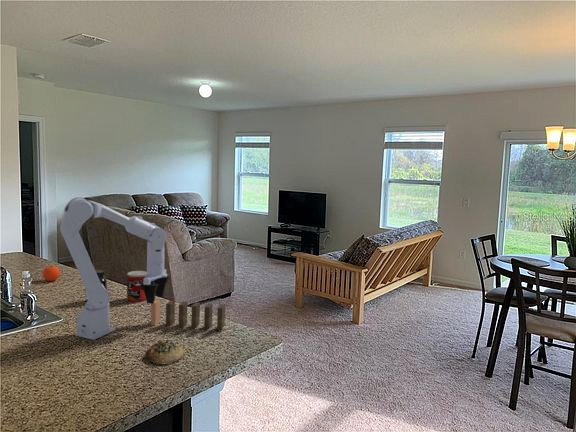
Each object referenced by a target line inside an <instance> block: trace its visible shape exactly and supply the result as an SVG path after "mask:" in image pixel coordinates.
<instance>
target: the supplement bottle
mask: <svg viewBox="0 0 576 432" xmlns="http://www.w3.org/2000/svg"><path fill="white" fill-rule="evenodd" d="M95 271H96V274H97V276H98V278H99V280H100V282H101V284H103V285H104V287H105V289H106V291H108V280H107V277H105V270H103V269H102V270H101V269H95Z"/></svg>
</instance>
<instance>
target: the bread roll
mask: <svg viewBox="0 0 576 432" xmlns="http://www.w3.org/2000/svg"><path fill="white" fill-rule="evenodd" d="M185 353H186V351H185V350H184V348H183V347H182V346H180V345H178V344H177V343H176V342H175V341H174V342H173V341H171V340H166V341H162V340H159V341H158V342H155V343H154V344H152V345H151V346H150V347H149V348H148V349H147V351H146V352H145V358H147V359H148V360H149V361H148V360H147V359H146V360H147V361H148V362H150V363H153V364H155V363H156V364H155V365H159V364H163V363H171V362H174V361H177V360H178V361H180V360H181V359H182V357H183V356H184V354H185ZM180 358H181V359H180ZM179 359H180V360H179ZM178 361H177V362H178ZM174 363H175V362H174ZM171 364H172V363H171Z"/></svg>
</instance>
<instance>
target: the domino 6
mask: <svg viewBox="0 0 576 432" xmlns="http://www.w3.org/2000/svg"><path fill="white" fill-rule="evenodd" d="M216 315H217V318H216V321H217V323H216V331H217V330H222V329H223V327H224V326H225V327H226V321H225V320H226V304H220V305H219V306H217V314H216ZM225 327H224V328H225ZM223 330H224V329H223ZM223 330H222V331H223Z"/></svg>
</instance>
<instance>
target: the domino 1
mask: <svg viewBox="0 0 576 432" xmlns="http://www.w3.org/2000/svg"><path fill="white" fill-rule="evenodd" d="M160 321H161V299H158V298H157V299H156V298H155V300H154V303H153V304H150V326H154V325H155V326H157V325H158V324H159V323H160ZM157 323H158V324H157ZM156 324H157V325H156Z"/></svg>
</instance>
